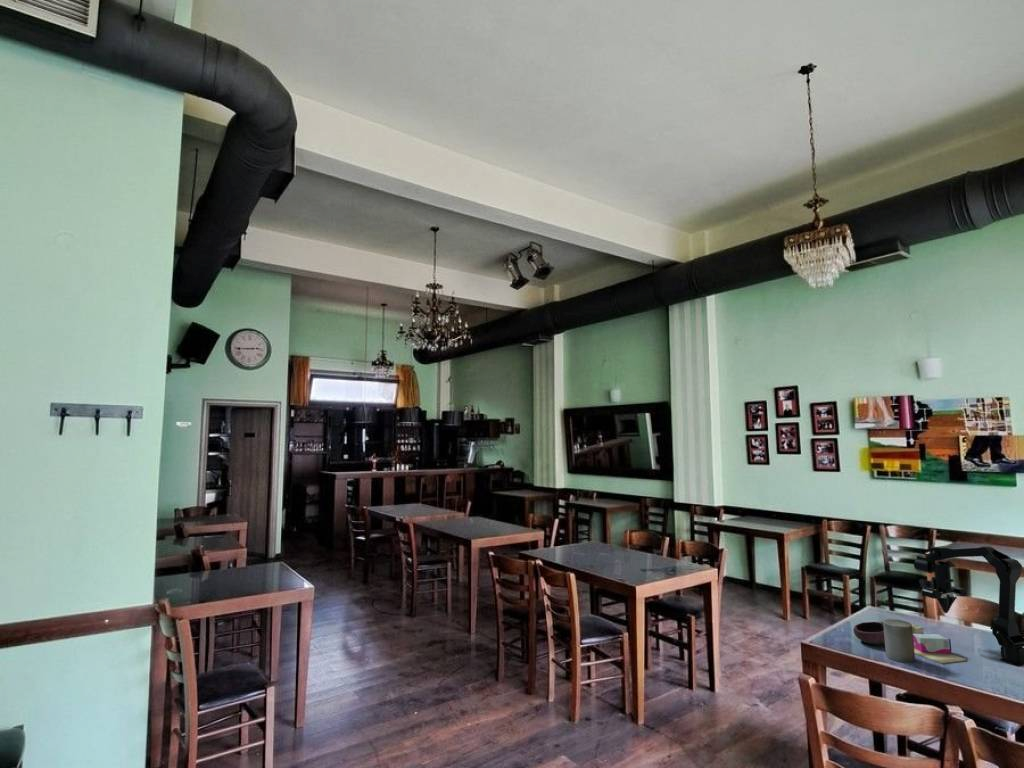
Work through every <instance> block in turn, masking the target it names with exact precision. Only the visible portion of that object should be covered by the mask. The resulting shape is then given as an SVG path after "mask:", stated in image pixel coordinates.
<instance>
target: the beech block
mask: <svg viewBox="0 0 1024 768" xmlns="http://www.w3.org/2000/svg"><path fill="white" fill-rule="evenodd" d="M911 624H912V631H913V634H925V633H924V632H925V631H924V627H923V626H922V625H921V626H920V625H917V624H913V623H911Z"/></svg>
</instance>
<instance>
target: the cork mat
mask: <svg viewBox="0 0 1024 768" xmlns="http://www.w3.org/2000/svg"><path fill="white" fill-rule="evenodd" d="M914 653H915V655H916V656H917V655H918V656H920V657H923V658H925V659H928V660H930V661H933V662H935V663H937V664H941V665H945V664H946V665H947V664H952V663H961V662H968V659H966V658H963V657H961V656H959V655H955V654H953V653H924V652H920V651H919V650H917V649H915V648H914Z"/></svg>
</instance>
